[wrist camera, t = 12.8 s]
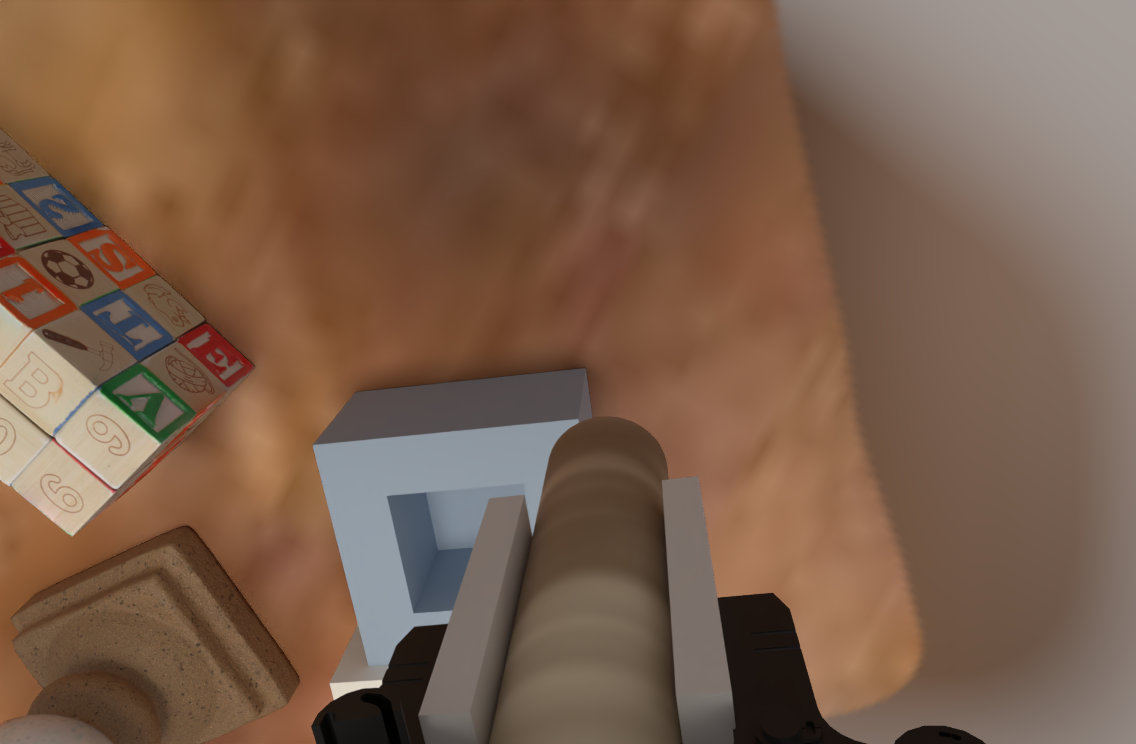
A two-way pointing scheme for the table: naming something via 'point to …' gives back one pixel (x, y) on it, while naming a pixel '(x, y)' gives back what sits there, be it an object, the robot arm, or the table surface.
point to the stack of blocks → (91, 353)
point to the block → (433, 486)
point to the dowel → (594, 600)
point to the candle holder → (146, 652)
